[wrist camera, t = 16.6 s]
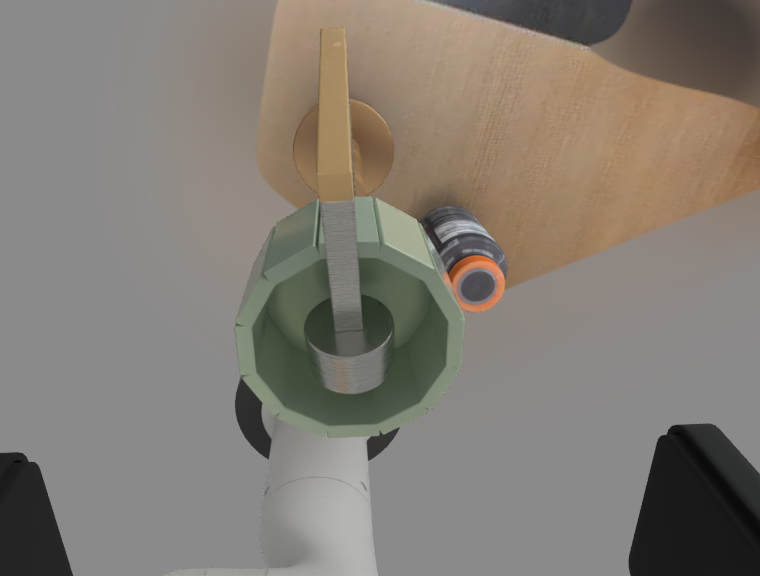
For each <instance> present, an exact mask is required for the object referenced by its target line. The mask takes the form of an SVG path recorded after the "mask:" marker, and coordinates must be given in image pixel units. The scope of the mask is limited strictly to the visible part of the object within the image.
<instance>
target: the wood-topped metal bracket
mask: <svg viewBox="0 0 760 576" xmlns="http://www.w3.org/2000/svg"><path fill="white" fill-rule="evenodd" d="M316 179H317V188H318V196H319V201H320V202H319V203H320V211H321V219H322V228H323V236H324V245H325V253H326V261H327V270H328V278H329V287H330V295H331V297H330V298H328V299H326V300H324V301H322V302H321V303H319V304H318V305H316V306H315V307H314V308H313V309H312V310H311V311H310V313H309V314H308V316H307V318H306V321H305V324H304V335H305V341H306V347H307V353H308V358H309V364H310V369H311V372H312V375H313V376H314V378H315V379H316V380H317V381H318V383H320V384H321V385H322V386H323V387H325V388H327V389H329V390H331V391H334V392H337V393H341V394H358V393H363V392H367V391H370V390H372V389H374V388H376V387H378V386H379V385H381V384H382V383H383V382H384V381H385V380H386V379H387V378H388V377H389V375H390V374H391V372H392V370H393V367H394V364H395V338H394V319H393V316H392V314H391V312H390V310H389V309H388V308H387V307H386V306H385V305H384V304H383V303H382V302H380V301H379V300H377V299H375V298H373V297H370V296H367V295H362V294H361V285H360V271H359V257H358V243H357V229H356V215H355V201H354V197H357V196H356V182H355V167H354V152H353V138H352V123H351V109H350V94H349V79H348V65H347V50H346V35H345V28H329V29H321V33H320V64H319V95H318V126H317V157H316Z"/></svg>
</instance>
